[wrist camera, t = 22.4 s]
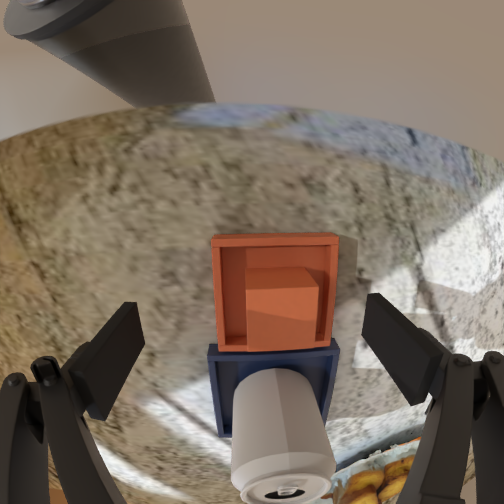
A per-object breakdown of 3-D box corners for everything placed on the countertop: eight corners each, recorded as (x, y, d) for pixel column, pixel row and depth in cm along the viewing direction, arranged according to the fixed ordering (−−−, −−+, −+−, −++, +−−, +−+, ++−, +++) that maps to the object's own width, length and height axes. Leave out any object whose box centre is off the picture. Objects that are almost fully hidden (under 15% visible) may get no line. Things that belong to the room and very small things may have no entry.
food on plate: (457, 430, 30) (473, 452, 24) (365, 503, 35) (372, 525, 28) (376, 413, 26) (395, 451, 20) (264, 498, 31) (266, 529, 25)
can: (235, 417, 25) (233, 514, 13) (231, 363, 23) (226, 475, 12) (306, 413, 25) (330, 506, 14) (314, 359, 24) (353, 463, 12)
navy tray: (209, 343, 23) (206, 355, 21) (334, 337, 24) (340, 348, 22) (219, 425, 26) (218, 437, 24) (320, 419, 26) (324, 430, 24)
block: (245, 268, 21) (245, 289, 17) (304, 266, 21) (319, 286, 17) (246, 321, 22) (247, 352, 18) (301, 319, 23) (314, 348, 18)
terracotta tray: (213, 234, 21) (211, 239, 19) (331, 232, 21) (339, 236, 20) (220, 340, 23) (218, 351, 21) (324, 335, 23) (330, 346, 22)
